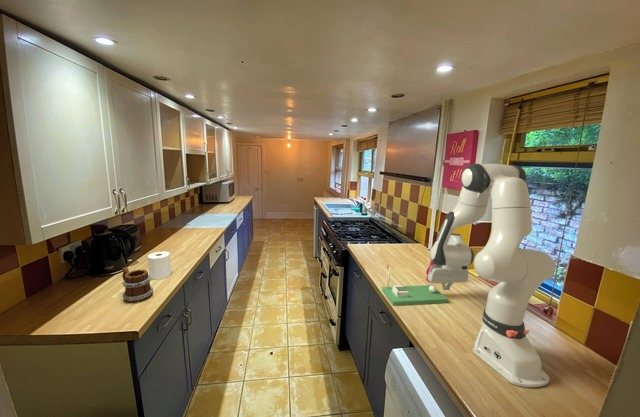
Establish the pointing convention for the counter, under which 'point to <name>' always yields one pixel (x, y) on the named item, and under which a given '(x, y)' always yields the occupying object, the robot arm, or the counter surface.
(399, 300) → the green
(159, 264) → the toilet paper
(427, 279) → the pepper mill
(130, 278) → the wooden bucket
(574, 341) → the counter surface
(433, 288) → the ball
